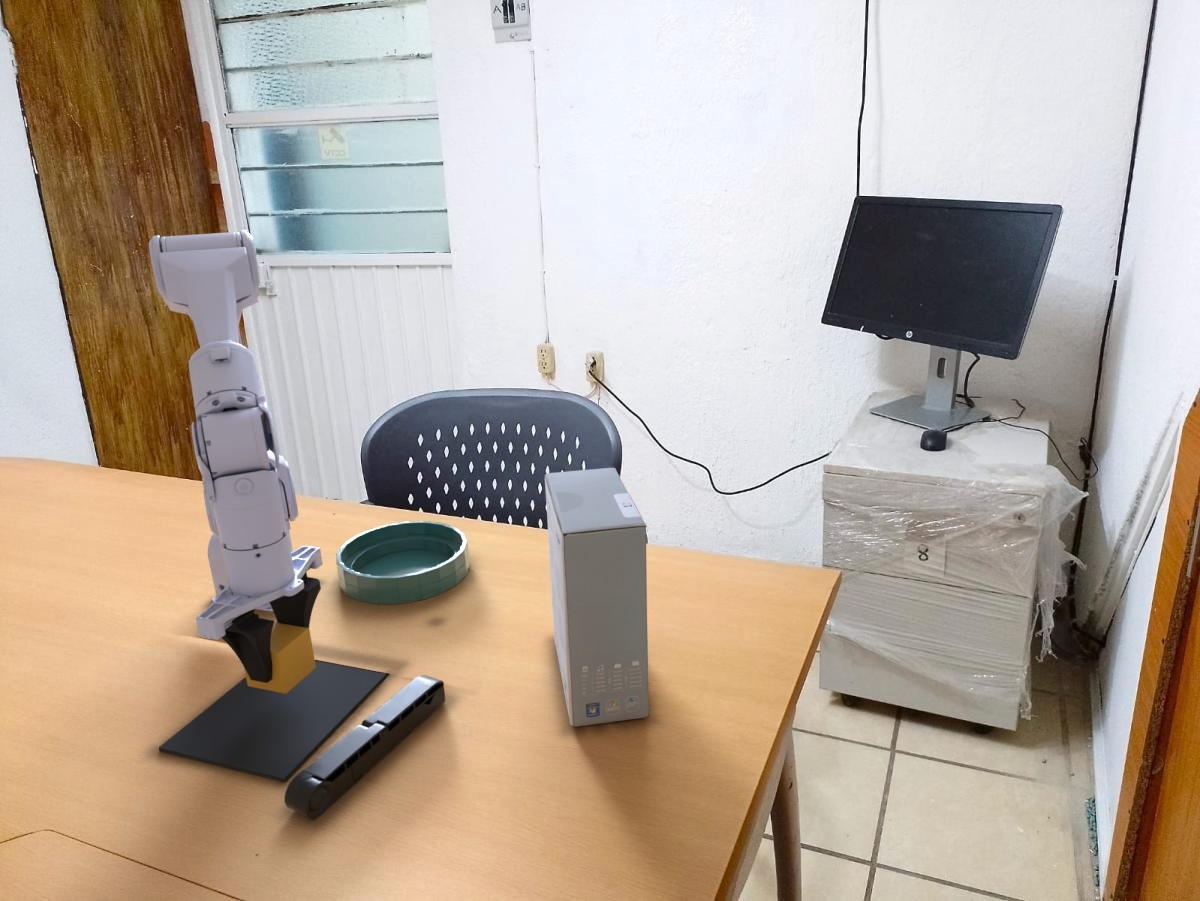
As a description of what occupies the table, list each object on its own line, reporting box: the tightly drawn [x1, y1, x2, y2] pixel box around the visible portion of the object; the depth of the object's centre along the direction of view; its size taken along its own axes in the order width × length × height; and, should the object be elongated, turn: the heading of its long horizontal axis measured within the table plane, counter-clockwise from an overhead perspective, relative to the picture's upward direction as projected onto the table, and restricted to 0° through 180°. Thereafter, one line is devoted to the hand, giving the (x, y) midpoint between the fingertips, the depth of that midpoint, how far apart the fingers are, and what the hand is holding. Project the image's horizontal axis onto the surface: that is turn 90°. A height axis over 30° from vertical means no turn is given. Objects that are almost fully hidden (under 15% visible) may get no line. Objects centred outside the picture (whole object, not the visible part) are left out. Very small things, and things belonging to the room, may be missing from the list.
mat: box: [158, 659, 390, 783], centre depth 82 cm, size 14×18×1 cm
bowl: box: [335, 520, 471, 605], centre depth 106 cm, size 16×16×4 cm
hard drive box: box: [544, 467, 649, 728], centre depth 81 cm, size 16×8×20 cm, turn 9°
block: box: [243, 621, 316, 694], centre depth 80 cm, size 4×4×4 cm
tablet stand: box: [283, 674, 446, 819], centre depth 74 cm, size 18×3×3 cm, turn 152°
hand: (278, 664), depth 80 cm, fingers closed on block, 4 cm apart
